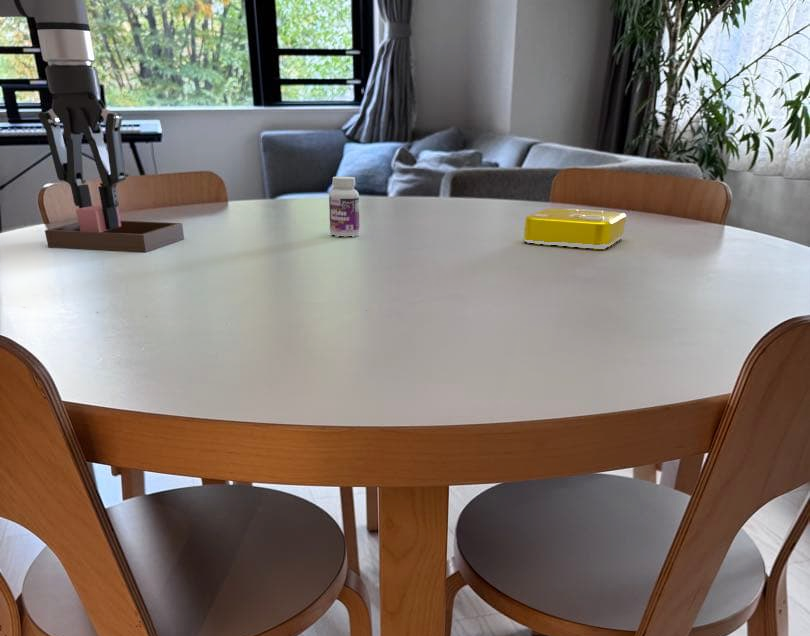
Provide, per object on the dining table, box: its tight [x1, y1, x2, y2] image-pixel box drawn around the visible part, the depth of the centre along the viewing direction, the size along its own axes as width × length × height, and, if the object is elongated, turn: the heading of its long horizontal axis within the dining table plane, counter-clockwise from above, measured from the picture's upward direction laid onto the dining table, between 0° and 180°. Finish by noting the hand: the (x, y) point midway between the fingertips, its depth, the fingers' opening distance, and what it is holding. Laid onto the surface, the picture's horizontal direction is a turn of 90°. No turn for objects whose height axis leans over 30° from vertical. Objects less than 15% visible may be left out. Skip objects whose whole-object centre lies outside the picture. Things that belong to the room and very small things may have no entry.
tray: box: [44, 219, 185, 253], centre depth 128 cm, size 18×14×3 cm
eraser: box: [75, 203, 121, 232], centre depth 127 cm, size 7×4×4 cm, turn 168°
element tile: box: [523, 207, 627, 251], centre depth 133 cm, size 15×15×5 cm
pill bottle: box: [328, 175, 360, 238], centre depth 135 cm, size 5×5×10 cm
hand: (101, 227), depth 128 cm, fingers closed on eraser, 4 cm apart
